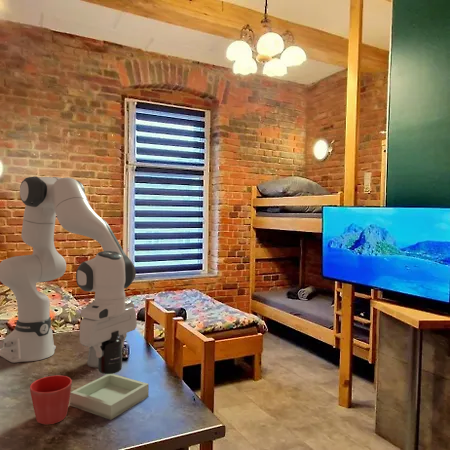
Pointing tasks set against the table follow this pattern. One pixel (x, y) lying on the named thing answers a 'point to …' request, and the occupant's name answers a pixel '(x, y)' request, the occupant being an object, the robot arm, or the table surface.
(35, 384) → the flower pot
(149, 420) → the table surface
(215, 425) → the table surface
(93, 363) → the coffee maker
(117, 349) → the supplement bottle
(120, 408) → the tray
